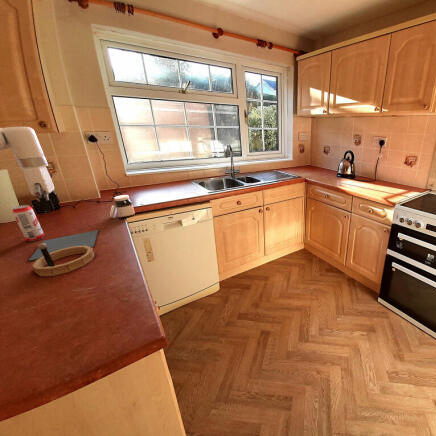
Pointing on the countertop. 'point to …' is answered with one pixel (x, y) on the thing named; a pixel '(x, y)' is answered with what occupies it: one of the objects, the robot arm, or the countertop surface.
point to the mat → (67, 243)
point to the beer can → (28, 223)
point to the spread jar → (122, 207)
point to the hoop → (66, 267)
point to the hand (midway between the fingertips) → (52, 207)
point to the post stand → (46, 254)
